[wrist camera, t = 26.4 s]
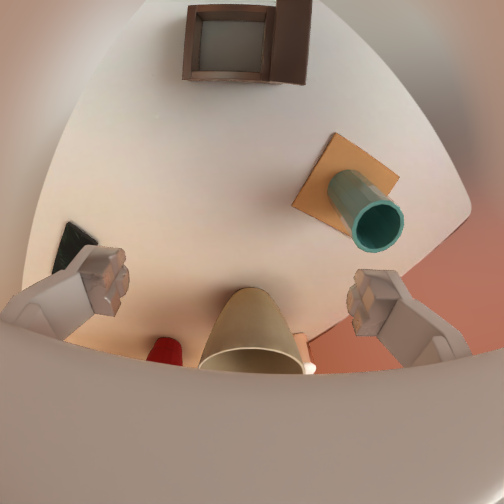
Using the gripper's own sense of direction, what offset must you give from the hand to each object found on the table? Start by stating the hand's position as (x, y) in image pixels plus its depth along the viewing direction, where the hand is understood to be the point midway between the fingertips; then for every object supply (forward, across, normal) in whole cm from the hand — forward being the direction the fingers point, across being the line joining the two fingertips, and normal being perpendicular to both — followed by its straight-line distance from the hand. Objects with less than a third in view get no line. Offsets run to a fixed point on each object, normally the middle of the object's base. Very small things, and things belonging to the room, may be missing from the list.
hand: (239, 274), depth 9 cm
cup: (+28, -14, +6) cm, 32 cm away
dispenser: (+29, +2, -12) cm, 31 cm away
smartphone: (+28, +31, +22) cm, 47 cm away
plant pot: (+28, -2, +28) cm, 40 cm away
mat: (+29, -14, +6) cm, 33 cm away
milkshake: (+28, -13, +38) cm, 49 cm away
